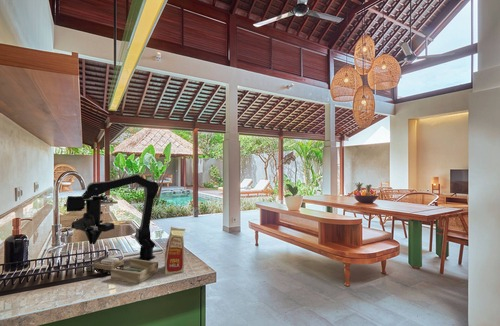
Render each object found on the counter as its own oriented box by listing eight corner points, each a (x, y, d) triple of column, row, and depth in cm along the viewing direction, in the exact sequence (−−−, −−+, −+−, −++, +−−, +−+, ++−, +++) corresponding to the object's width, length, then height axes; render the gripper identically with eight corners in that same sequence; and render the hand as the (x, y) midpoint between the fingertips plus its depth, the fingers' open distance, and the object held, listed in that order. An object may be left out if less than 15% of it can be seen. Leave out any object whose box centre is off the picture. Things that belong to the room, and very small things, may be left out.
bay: (131, 267, 123) (131, 258, 123) (157, 270, 120) (158, 262, 120) (110, 278, 110) (110, 269, 110) (139, 283, 107) (140, 273, 107)
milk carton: (165, 274, 117) (166, 229, 117) (163, 266, 125) (165, 224, 125) (186, 271, 120) (187, 228, 120) (183, 264, 129) (184, 223, 129)
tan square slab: (105, 264, 123) (105, 254, 123) (123, 267, 121) (124, 257, 121) (92, 271, 116) (92, 260, 116) (111, 274, 113) (111, 263, 113)
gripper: (60, 211, 114) (59, 247, 115) (96, 215, 110) (95, 252, 110) (82, 207, 125) (81, 240, 125) (115, 210, 121) (114, 244, 121)
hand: (92, 244), depth 120 cm, fingers closed
